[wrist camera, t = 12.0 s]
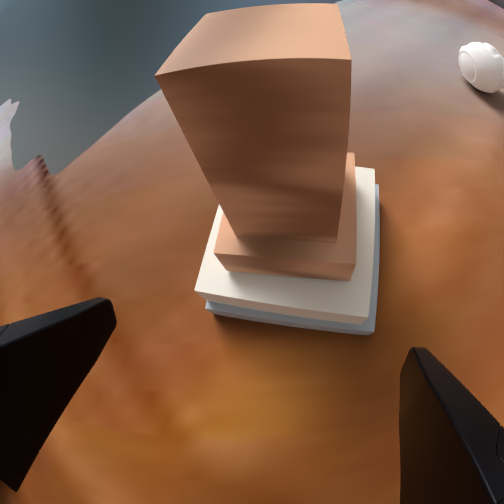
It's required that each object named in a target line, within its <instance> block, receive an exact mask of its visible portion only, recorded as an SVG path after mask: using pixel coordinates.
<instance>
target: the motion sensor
mask: <svg viewBox="0 0 504 504" xmlns="http://www.w3.org/2000/svg"><path fill="white" fill-rule="evenodd" d="M458 60H459V65H460V69H461V71H462V73H463V75H464V77H465V78H466V79H467V81H468V82H469V83H470V84H472V85H473V86H474V87H475V88H477V89H478V90H481V91H483V92H487V93H494V92H496V91H499V90H501V89H502V88H503V87H504V58H503V57H502V56H501V55H500V53H499V52H498V51H497V50H496V49H495V48H494V47H493V46H492V45H490V44H488V43H483V44H482V43H480V42H471V43H469V44H468V45H466V46H461V49H460V52H459V56H458Z"/></svg>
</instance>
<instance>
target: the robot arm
mask: <svg viewBox="0 0 504 504" xmlns="http://www.w3.org/2000/svg"><path fill="white" fill-rule="evenodd" d="M116 323H117V320H116V316H115V312H114V309H113V305H112V302H111V301H110V300H109V299H106V298H103V297H98V298H94V299H91V300H88V301H84V302H81V303H77V304H74V305H71V306H67V307H64V308H61V309H57V310H54V311H51V312H47V313H44V314H41V315H37V316H34V317H30V318H27V319H24V320H20V321H17V322H14V323H11V324H7V325H3V326H0V480H1V481H2V482H3V483H5V484H6V485H7V486H8V487H10V488H11V489H12V490H14V491H15V492H17V491H18V490H19V488H20V486H21V484H22V482H23V480H24V478H25V477H26V475H27V473H28V471H29V469H30V467H31V466H32V464H33V462H34V460H35V458H36V457H37V455H38V453H39V450H40V449H41V448H42V446H43V444H44V442H45V441H46V439H47V437H48V436H49V434H50V432H51V431H52V429H53V427H54V426H55V424H56V423H57V421H58V419H59V418H60V416H61V414H62V413H63V411H64V410H65V408H66V407H67V405H68V403H69V402H70V400H71V399H72V397H73V396H74V394H75V393H76V391H77V390H78V388H79V387H80V385H81V383H82V382H83V380H84V379H85V377H86V376H87V375H88V373H89V372H90V370H91V369H92V367H93V366H94V364H95V363H96V361H97V359H98V358H99V356H100V354H101V352H102V350H103V349H104V347H105V345H106V343H107V341H108V340H109V338H110V336H111V334H112V333H113V331H114V329H115V327H116ZM399 436H400V466H401V485H400V504H504V428H503V426H500V423H499V422H498V421H497V420H496V419H495V418H494V417H493V416H492V415H491V414H490V413H489V411H488V410H487V409H486V408H485V407H484V406H483V405H482V404H481V403H480V402H479V401H478V400H477V399H476V398H475V397H474V396H473V395H472V394H471V393H470V392H469V391H468V389H467V388H466V387H465V386H464V385H463V384H462V383H461V382H460V381H459V380H458V379H457V378H456V377H455V376H454V375H453V374H452V373H451V372H450V371H449V370H448V369H447V368H446V367H445V366H444V365H443V364H442V363H441V362H440V361H439V360H438V359H437V358H435V357H434V356H433V355H432V354H431V353H430V352H429V351H428V350H427V349H426V348H424V347H412V348H411V349H410V350H409V352H408V355H407V357H406V360H405V362H404V365H403V367H402V370H401V374H400V410H399Z"/></svg>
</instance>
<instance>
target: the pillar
mask: <svg viewBox="0 0 504 504" xmlns="http://www.w3.org/2000/svg"><path fill="white" fill-rule="evenodd" d="M155 77H156V79H157V81H158V83H159V85H160V87H161V89H162V91H163V93H164V95H165V97H166V99H167V101H168V103H169V105H170V107H171V109H172V111H173V113H174V115H175V117H176V119H177V121H178V123H179V125H180V127H181V129H182V131H183V133H184V135H185V137H186V139H187V141H188V143H189V145H190V147H191V149H192V151H193V153H194V155H195V157H196V159H197V161H198V163H199V165H200V167H201V169H202V171H203V173H204V175H205V177H206V179H207V181H208V183H209V185H210V187H211V189H212V191H213V192H214V194H215V196H216V198H217V200H218V202H219V204H220V206H221V208H222V210H223V215H222V219H221V223H220V227H219V231H218V235H217V239H216V244H215V248H214V252H213V253H214V255H215V256H216V257H217V259H218V260H219V261H220V263H221V264H222V265H223V267H224V268H225V269H226V271H234V272H245V273H256V274H267V275H278V276H290V277H302V278H314V279H326V280H339V281H350V280H351V277H352V274H353V271H354V269H355V266H356V248H357V210H356V178H355V159H354V153H347V146H348V133H349V117H350V97H351V55H350V51H349V47H348V42H347V38H346V34H345V30H344V26H343V22H342V19H341V15H340V11H339V8H338V4H320V3H319V4H318V3H317V4H316V3H313V4H312V3H311V4H309V3H308V4H307V3H305V4H304V3H303V4H278V5H265V6H255V7H246V8H239V9H232V10H226V11H219V12H214V13H209V14H206V15H205V16H204V17H203V18H202V19H201V20H200V21H199V22H198V23H197V24H196V25H195V27H194V28H193V29H192V30H191V31H190V32H189V33H188V34H187V36H186V37H185V38H184V39H183V40H182V41H181V43H180V44H179V45H178V46H177V47H176V49H175V50H174V51H173V53H172V54H171V55H170V56H169V58H168V59H167V60H166V61H165V63H164V64H163V65H162V66H161V68H160V69H159V70H158V72H157V73H156V75H155Z"/></svg>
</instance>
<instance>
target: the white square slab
mask: <svg viewBox="0 0 504 504" xmlns="http://www.w3.org/2000/svg"><path fill="white" fill-rule="evenodd" d="M355 178H356V210H357V248H356V266H355V269H354V271H353V274H352V277H351V280H350V281H339V280H326V279H314V278H302V277H290V276H278V275H267V274H256V273H245V272H234V271H226V269H225V268H224V267H223V265H222V264H221V263H220V261H219V260H218V259H217V257H216V256H215V255H214V253H213V252H214V248H215V244H216V239H217V235H218V231H219V227H220V223H221V219H222V215H223V210H222V208H221V206H220V204H219V207H218V210H217V213H216V217H215V220H214V223H213V227H212V230H211V234H210V237H209V240H208V244H207V247H206V251H205V254H204V258H203V261H202V265H201V268H200V272H199V276H198V279H197V283H196V287H195V290H194V291H196V292H197V293H198V294H199V295H201V296H202V297H203V298H205V299H206V300H207V301H211V302H216V303H221V304H227V305H232V306H237V307H243V308H249V309H254V310H260V311H266V312H272V313H278V314H285V315H291V316H298V317H305V318H311V319H319V320H326V321H333V322H341V323H349V324H357V325H361V324H362V323H363V322H364V321H365V320H366V319H367V318H368V316H369V307H370V297H371V286H372V273H373V257H374V234H375V172H374V169H370V168H362V167H355Z"/></svg>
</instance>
